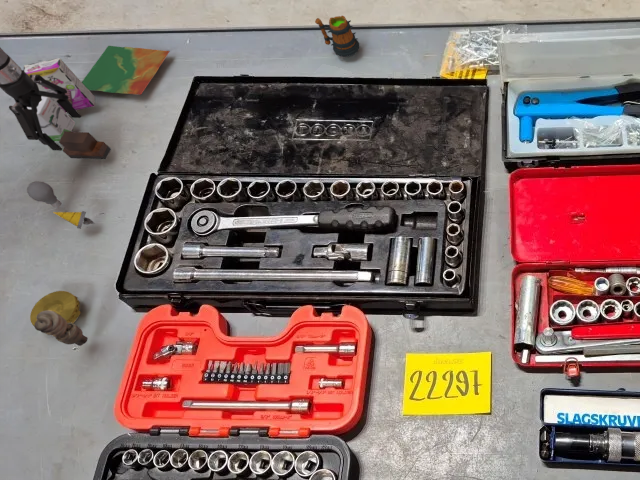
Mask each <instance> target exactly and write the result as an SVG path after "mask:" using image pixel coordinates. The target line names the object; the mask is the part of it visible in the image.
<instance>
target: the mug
mask: <svg viewBox="0 0 640 480" xmlns="http://www.w3.org/2000/svg"><path fill="white" fill-rule="evenodd" d="M314 22H315V24H316V25H318V27H319V29H320V31H321V34H322V36H323V40H324V44H325V45H327V46H332V50H333V52H334V54H335V55H336V56H338V57H342V58H346V57H351V56H353V55H355V54H357V53H358V52H359V50H360V47H361V46H360V42H359V40H358V38H357V37H356V33H357V32H353V31H352V29H351V28H353V27H354V25H351V24H350V23H351V22H352V21H351V20H347V18H346V16H344V15H341V16H340V15H338V16H334V17H329V19H328V24H324V23H323V21H322V20H321V19H320V18H319V17H317V18H316V19H315V20H314ZM326 28H327V29H328V31H326ZM329 33H331V36H329V35H328V34H329Z"/></svg>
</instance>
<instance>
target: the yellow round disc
mask: <svg viewBox="0 0 640 480" xmlns="http://www.w3.org/2000/svg"><path fill="white" fill-rule="evenodd" d="M80 307H81V306H80V300H79V299H78V296H76V295H74V294H73V293H71V292H69V291H67V290H56V291H52V292H49V293H48V294H46V295H44V296H43V297H41V298H40V299H39V300H38V301H37V302H36V303H35V304H34V306H33V307H32V309H31V312H30V315H29V320H30V323H31V325H32V326H33V327H34V325H35V322H36V321H37V319H36V317H37V315H38V314H39V313H40V312H42V311H46V310H50V311H54V312H56V313H57V314H59V315H60V316H61V317H63V318H64V319H65V320H66V321H67V323H72V324H75V322H76V321H77V320H78V318H79V317H80V315H81V311H80Z"/></svg>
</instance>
